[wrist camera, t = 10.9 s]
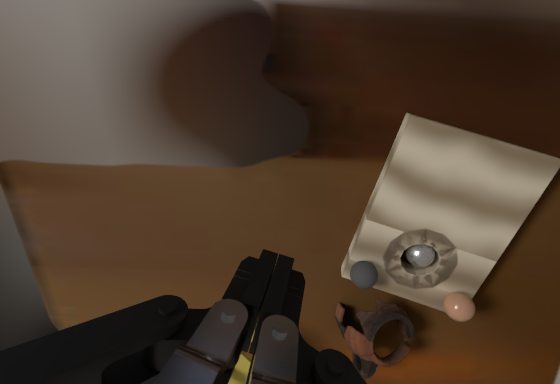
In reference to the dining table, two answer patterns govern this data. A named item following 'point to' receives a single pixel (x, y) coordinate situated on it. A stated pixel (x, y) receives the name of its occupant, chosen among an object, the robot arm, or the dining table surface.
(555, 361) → the dining table surface
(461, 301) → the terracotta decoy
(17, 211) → the dining table surface
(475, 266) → the board
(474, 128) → the dining table surface
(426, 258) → the steel ball
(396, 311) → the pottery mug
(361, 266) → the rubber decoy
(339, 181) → the dining table surface
